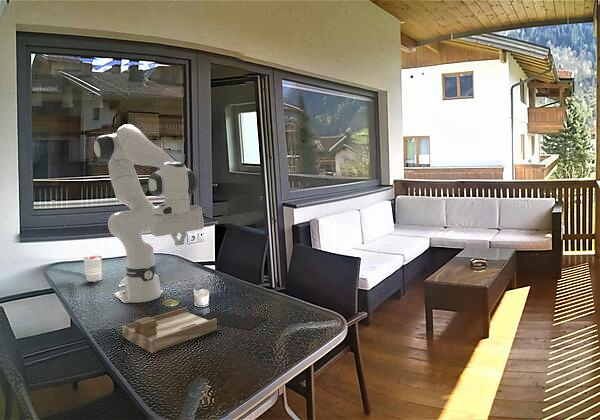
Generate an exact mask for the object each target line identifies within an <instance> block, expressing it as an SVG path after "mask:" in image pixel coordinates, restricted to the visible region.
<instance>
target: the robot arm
mask: <svg viewBox="0 0 600 420" xmlns="http://www.w3.org/2000/svg"><path fill="white" fill-rule="evenodd" d="M93 151H94V153H95V154H94V155H96V158H97V159H99V160H100V161H104V162H105V161H107V162H108V163H107V165H108V166H107V168H108V173H109V174H108V175H109V179H110V182H111V186H112V188H113V192H114V195H115V199H116V201H118V202H119V203H120V204H123V205H125V206H127V207H128V208H129V209H126V210H120V211H119V212H115V213H112V214H111V215H110V216H109V218H108V221H107V227H108V230H109V232H110V234H111V235H112V236H114V237H115V238H117V239H118V240H119V241H120V242H121V244H122V246H123V248H124V250H125V255H126V262H127V266H126V267H125V268H126V269H125V277H123V279H122V280H120V282H119V285H117V287H118V288H117V289H118V290H119V291H116V292H115V293H114V297H116V298H117V299H118V298H119V299H120V300H121V301H122V302H123V304H128V303H129V304H130V303H146V302H150V301H155V300H157V299H159V298H160V297H161V295H162V294H164V290H163V289H161V282H160V276H159V275H158V274H156V273H157V267H156V263H155V251H154V247H153V246H152V245H151V244H149V243H147V242H145V241H144V240H143V237H142V235H144V234H151V235H152V236H153V237H163V236H168V235H170V236H171V238H172V239H173V241H174V246H175V247H177V246H183V245H185V240H186V236H187V232H193V231H199V230H203V229H204V227H205V220H204V216H203V208H202V206H201V205H199V204H195V205H193V204H191V205H190V203H191V202H190V201H191V200H190V196H192V195H193V194H194V192H195V191H196V190H197V188H198V186H199V185H198V184H199V181H198V177H197V175H196V174H195V172H194V171H192V170H191V169H190V168H187V166H186V164H185V163H183V162H182V161H179V160H178V159H176V158H175V157H174V156H173V155H172V154H171V153H169V152H168V151H167V150H165V149H163V148H162V147H160V146H158V145H156V144H155V143H153V142H152V141H151V140H149V138H148V137H147V136H146V135H145V134H144V132H142V131H141V130H140V129H139V128H137V127H135V126H134V125H133V124H123V125H122V126H120V127H119V128H118V129H117V130H116V133H112V134H104V135H99V136H97V137H96V138H95V140H94V141H93ZM134 164H135V165H138V166H142V167H143V166H146V167H155V168H159V170H156V171H153V172H152V173H151V174H150V175H149V177H148V178H147V190H148V191H149V192H150V193H151V195H152V196H154V197H157V198H164V199H163V202H162V203H160V204H158V205H155V204H154V203H153V202H151V200H149V198H148V197H147V195H146V194H145V193H144V190H143V188H142V186H141V182H140V180H139V176H138V173H137V172H136V169H135V166H134ZM178 234H180V239H178V237H179V236H178ZM119 299H118V300H119ZM120 300H119V301H120ZM121 301H120V302H121ZM122 302H121V303H122Z"/></svg>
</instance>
